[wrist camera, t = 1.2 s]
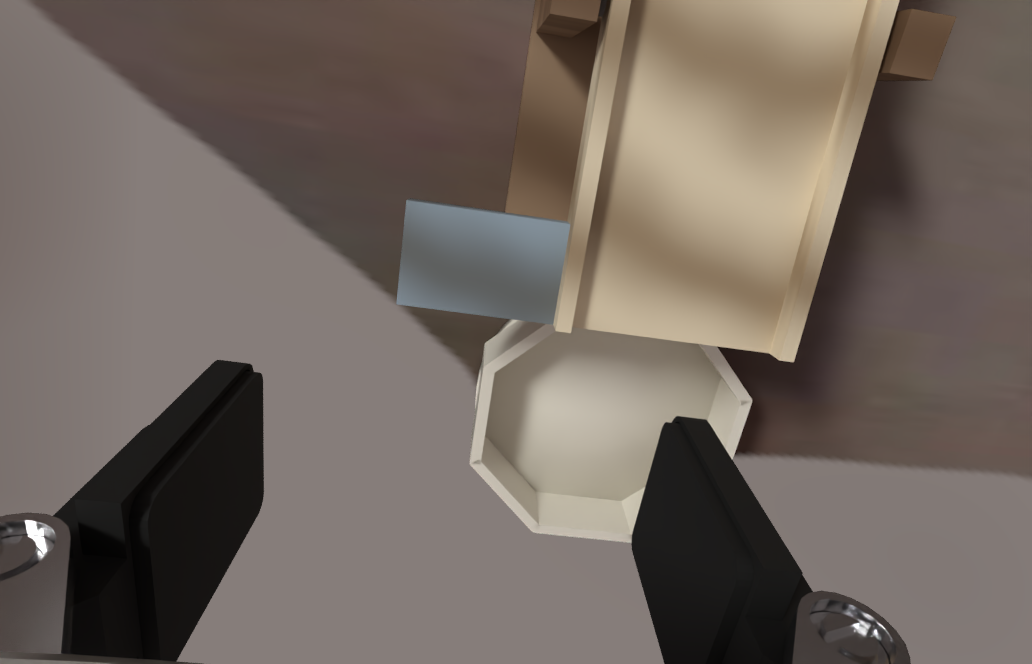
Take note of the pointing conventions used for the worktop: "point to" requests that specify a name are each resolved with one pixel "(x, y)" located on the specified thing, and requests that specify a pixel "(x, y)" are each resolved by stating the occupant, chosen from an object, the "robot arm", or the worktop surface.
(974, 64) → the worktop surface
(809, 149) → the lever
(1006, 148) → the worktop surface
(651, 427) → the octagonal cream dish
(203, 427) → the robot arm
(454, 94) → the worktop surface
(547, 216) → the lever stand
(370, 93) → the worktop surface
